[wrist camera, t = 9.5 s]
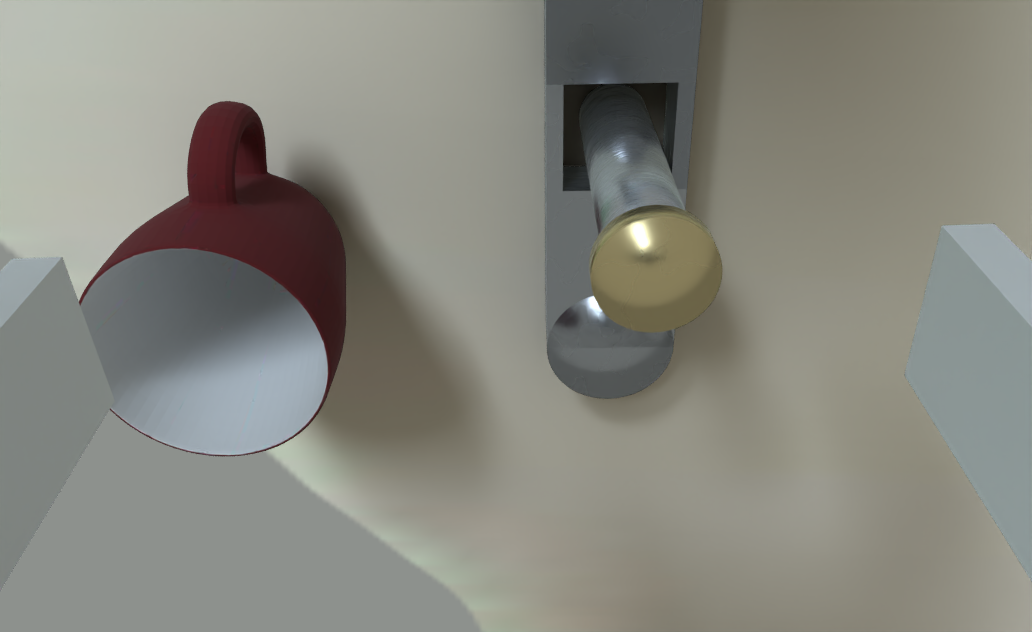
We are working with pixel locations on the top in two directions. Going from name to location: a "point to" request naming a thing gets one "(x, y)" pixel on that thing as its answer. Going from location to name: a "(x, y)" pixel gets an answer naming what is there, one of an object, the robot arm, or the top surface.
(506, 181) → the top surface
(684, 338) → the top surface
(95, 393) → the robot arm
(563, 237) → the grey rounded bar
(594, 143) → the pin
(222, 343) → the mug
